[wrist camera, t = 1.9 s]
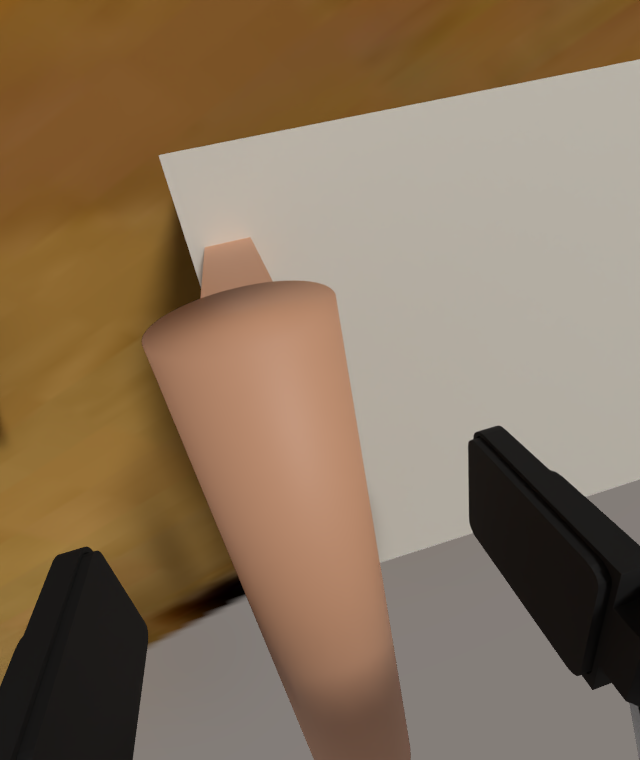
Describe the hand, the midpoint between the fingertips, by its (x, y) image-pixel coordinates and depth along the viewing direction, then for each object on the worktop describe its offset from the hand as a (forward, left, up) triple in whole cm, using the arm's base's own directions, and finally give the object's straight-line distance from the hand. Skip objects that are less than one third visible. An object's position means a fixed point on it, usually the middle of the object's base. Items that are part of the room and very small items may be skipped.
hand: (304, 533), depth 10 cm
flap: (-8, 0, -5) cm, 10 cm away
